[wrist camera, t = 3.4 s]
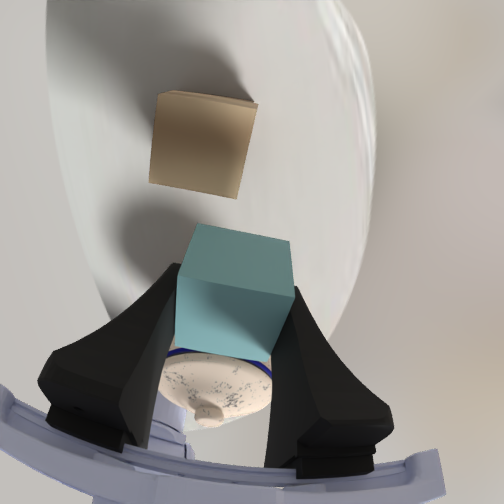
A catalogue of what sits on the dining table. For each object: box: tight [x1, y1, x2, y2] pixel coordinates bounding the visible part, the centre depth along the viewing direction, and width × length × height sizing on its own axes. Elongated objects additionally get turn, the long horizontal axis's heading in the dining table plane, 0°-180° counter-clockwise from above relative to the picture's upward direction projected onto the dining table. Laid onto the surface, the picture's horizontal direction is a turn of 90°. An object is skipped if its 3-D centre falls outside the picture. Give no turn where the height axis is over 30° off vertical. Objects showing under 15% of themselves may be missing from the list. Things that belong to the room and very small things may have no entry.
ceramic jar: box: [158, 335, 272, 427], centre depth 23 cm, size 12×9×12 cm
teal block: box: [175, 223, 295, 362], centre depth 12 cm, size 4×4×4 cm
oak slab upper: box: [149, 90, 258, 199], centre depth 15 cm, size 5×5×2 cm
